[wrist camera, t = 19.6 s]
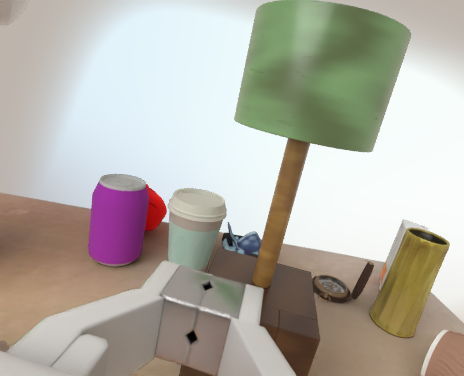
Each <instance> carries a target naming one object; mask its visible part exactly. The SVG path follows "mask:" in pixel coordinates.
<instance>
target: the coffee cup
mask: <svg viewBox="0 0 464 376" xmlns="http://www.w3.org/2000/svg"><path fill="white" fill-rule="evenodd" d="M168 208H169V210H170V214H169V240H168V261H169V262H172V263H176V264H180V266H181V265H182V266H186V267H189V268H192V269H195V270H199V271H202V272H205V271H206V268H207V266H208V263H209V260H210V257H211V254H212V251H213V248H214V245H215V242H216V239H217V236H218V233H219V230H220V227H221V224H222V221H223V219H224V218H225V217H226V207H225V200H224V199H223V198H222V197H221V196H219V195H217V194H215V193H212V192H209V191H206V190H201V189H194V188H184V189H179V190H177V191H175V192H174V194H173V196H172V198H171V199H170V200H169V204H168Z"/></svg>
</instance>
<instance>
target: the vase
mask: <svg viewBox="0 0 464 376" xmlns="http://www.w3.org/2000/svg"><path fill="white" fill-rule="evenodd" d="M448 249H449V242H448V241H447V240H445V239H444V238H442V237H441V236H439V235H436V234H434V233H432V232H429V231H426V230H423V229H419V228H413V227H411V228H407V229H406V232H405V234H404V236H403V239H402V241H401V244H400V246H399V249H398V251H397V254H396V256H395V258H394V260H393V263H392V265H391V267H390V270H389V272H388V274H387V277H386V279H385V281H384V284H383V286H382V288H381V290H380V292H379V295H378V297H377V299H376V301H375V303H374V305H373V307H372V308H371V311H370V315H371V318H372V319H373V321H374V322H375V323H376V324H377V325H378V326H379V327H381V328H382V329H384V330H385V331H387V332H389V333H391V334H393V335H395V336H399V337H405V338H407V337H411V336H413V335H414V333H415V329H416V326H417V324H418V321H419V319H420V316H421V314H422V311H423V309H424V306H425V303H426V301H427V298H428V296H429V293H430V291H431V288H432V286H433V283H434V281H435V278H436V276H437V274H438V271H439V269H440V267H441V264H442V262H443V260H444V257H445V255H446V253H447V251H448Z"/></svg>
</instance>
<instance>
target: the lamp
mask: <svg viewBox="0 0 464 376" xmlns="http://www.w3.org/2000/svg"><path fill="white" fill-rule="evenodd" d="M410 38H411V33H410V30H409V29H408V28H407V27H406V26H404V25H403V24H401V23H399V22H398V21H396V20H394V19H392V18H389V17H387V16H385V15H382V14H379V13H376V12H373V11H369V10H366V9H362V8H358V7H354V6H349V5H344V4H338V3H331V2H323V1H312V0H281V1H273V2H268V3H265V4H263V5H261V6H260V7H258V8H257V10H256V14H255V19H254V25H253V29H252V34H251V39H250V44H249V49H248V54H247V59H246V64H245V69H244V73H243V78H242V83H241V88H240V93H239V98H238V103H237V108H236V113H235V118H234V119H235V121H236V122H238V123H240V124H243V125H245V126H248V127H251V128H254V129H258V130H261V131H265V132H268V133H271V134H275V135H279V136H283V137H287V138H288V141H287V145H286V149H285V153H284V157H283V161H282V164H281V168H280V172H279V176H278V180H277V184H276V188H275V192H274V196H273V200H272V203H271V207H270V211H269V215H268V219H267V223H266V227H265V231H264V235H263V239H262V242H261V246H260V250H259V254H258V258H256V257H252V256H249V255H245V254H241V253H237V252H234V251H230V250H226V249H223V248H219V250H218V252H217V254H216V256H215V259H214V261H213V263H212V265H211V267H210V269H209V271H208V274H212V275H213V276H217V277H221V278H225V279H229V280H232V281H236V282H240V283H244V284H248V285H252V286H257V287H261V288H263V289H264V293H263V301H262V309H261V317H260V324H259V326H262V327H265V329H266V330H267V332H268V333H269V335H270V336H271V338H272V339H273V341H274V342H275V344H276V345H277V347H278V348H279V350H280V351H281V353H282V354H283V356H284V357H285V359H286V360H287V362H288V364H289V365H290V367H291V368H292V370H293V371H294V373H295V374H296V376H308V373H309V370H310V367H311V365H312V362H313V359H314V356H315V353H316V350H317V347H318V345H319V342H320V335H319V328H318V320H317V313H316V306H315V299H314V291H313V284H312V277H311V272H308V271H304V270H300V269H297V268H293V267H289V266H286V265H282V264H278V263H277V261H278V257H279V254H280V250H281V246H282V243H283V239H284V236H285V232H286V228H287V225H288V221H289V218H290V214H291V210H292V207H293V203H294V199H295V196H296V192H297V189H298V185H299V182H300V178H301V174H302V171H303V167H304V164H305V160H306V156H307V153H308V149H309V146H310V143H313V144H318V145H322V146H327V147H333V148H338V149H344V150H350V151H358V152H372V150H373V148H374V145H375V142H376V139H377V136H378V133H379V130H380V127H381V124H382V121H383V118H384V115H385V112H386V109H387V106H388V103H389V100H390V97H391V94H392V91H393V88H394V86H395V82H396V80H397V76H398V74H399V70H400V68H401V65H402V62H403V59H404V56H405V53H406V50H407V47H408V44H409V41H410ZM245 286H246V285H245ZM179 376H213V375H210V374H207V373H205V372H202V371H199V370H196V369H193V368H190V367H188V366H185V365H181V369H180V374H179Z"/></svg>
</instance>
